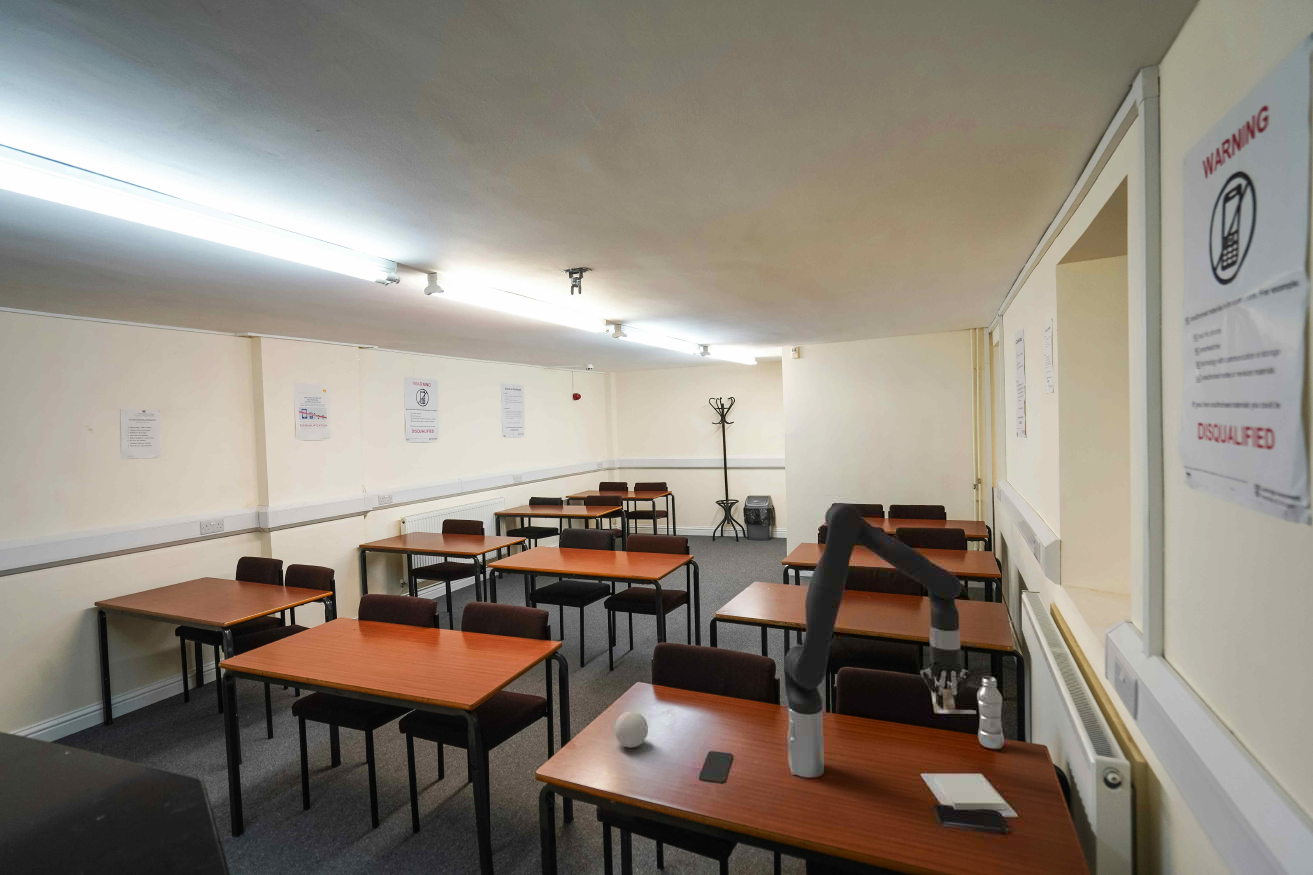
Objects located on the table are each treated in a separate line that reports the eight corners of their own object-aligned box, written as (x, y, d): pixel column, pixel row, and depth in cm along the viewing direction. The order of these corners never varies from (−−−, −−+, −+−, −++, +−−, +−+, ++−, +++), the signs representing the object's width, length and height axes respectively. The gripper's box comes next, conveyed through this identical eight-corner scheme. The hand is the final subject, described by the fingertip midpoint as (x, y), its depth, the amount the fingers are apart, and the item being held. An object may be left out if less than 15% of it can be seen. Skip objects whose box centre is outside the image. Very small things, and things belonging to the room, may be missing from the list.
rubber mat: (949, 816, 146) (949, 815, 146) (920, 774, 164) (920, 773, 164) (1018, 816, 145) (1018, 815, 145) (981, 774, 163) (981, 773, 163)
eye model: (625, 734, 190) (624, 703, 190) (654, 741, 186) (653, 708, 186) (609, 749, 181) (608, 716, 181) (639, 756, 177) (638, 722, 177)
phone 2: (1010, 831, 139) (939, 822, 142) (1010, 836, 139) (939, 827, 142) (1000, 810, 146) (932, 802, 150) (1000, 815, 146) (933, 807, 150)
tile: (934, 782, 159) (954, 810, 147) (934, 775, 159) (954, 802, 147) (981, 782, 159) (1005, 810, 147) (980, 775, 159) (1005, 802, 147)
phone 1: (697, 778, 164) (708, 750, 178) (697, 781, 164) (708, 753, 178) (724, 782, 162) (733, 753, 176) (725, 785, 162) (733, 756, 176)
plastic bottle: (1007, 753, 174) (1005, 683, 174) (982, 751, 175) (980, 682, 175) (999, 741, 180) (998, 674, 180) (975, 740, 181) (973, 673, 181)
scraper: (948, 713, 155) (944, 688, 158) (926, 712, 170) (922, 689, 172) (976, 713, 155) (971, 688, 157) (951, 712, 170) (947, 689, 172)
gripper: (924, 648, 162) (925, 713, 162) (977, 648, 161) (978, 713, 161) (914, 639, 169) (914, 700, 169) (964, 639, 169) (965, 701, 169)
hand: (946, 706), depth 165 cm, fingers closed on scraper
